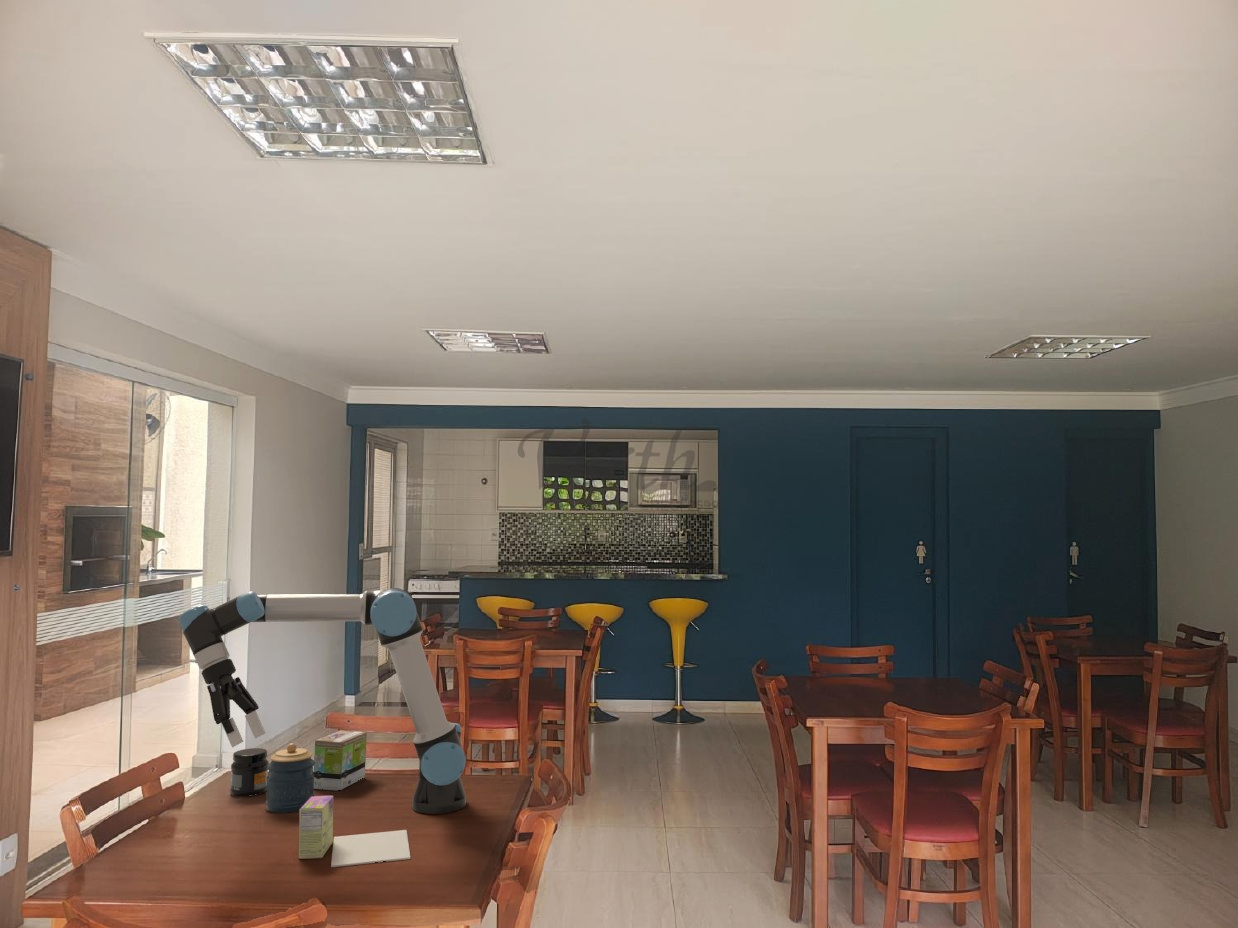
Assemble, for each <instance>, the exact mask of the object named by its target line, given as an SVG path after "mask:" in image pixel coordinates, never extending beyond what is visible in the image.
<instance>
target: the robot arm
mask: <svg viewBox="0 0 1238 928" xmlns="http://www.w3.org/2000/svg"><path fill="white" fill-rule="evenodd" d="M178 621H179V624H180V627H181V630H182V635H184V638H185V639H186V641H187V644H188V646H189V648H190V650H191V653H192V655H193V657H194V659H195V660H194V664H197V666H198V668H199V670H201V675H202V677H203V680H204V682H205V684H206V688H207V690H208V694H209V698H210V703H211V709H212V714H213V715H212V716H213V720H214V722H215V724H216V725H220V724H221V726H222V728H223V730H224V733H225V735H226V737H227V739H228V741H229V744H230V746H231V747H232V748H234V747H236V746H238V745H239V744H242V743H243V742H244V739H243V737H242V735H241V732H240V730H239V728H238V726H237V724H236V722H235V719H234V717H231V701H233V702H234V703H235V705H236V706H238V707H239V708H240V710H242V711H243V712H244V714H245V715H244V717H245V719H246V721H247V725H248V726H249V728H250V731H251V733H252V735H253V738H254V739H257V738H259V737H261V736H263V735H265V734H266V730H265V729H264V726H263V724H262V722H261V720H260V718H259V716H258V713H257V710H259V705H258V703H257V702H256V700H254V697H252V695H251V694H250V693H249V691H248V690H247V688H246V686H245V685H244V684H243V682H242V680H241V678H240V676H237V677H236V678H233V676H232V675H233V674H234V673H235V672H236V671H237V669H236V666H235V663H234V662H233V660H232V659H231V658H230V656H231V655H230V652H229V651H228V648H227V646H226V644H225V642H224V639H223V638H222V637H223V636H225V635H227V634H229V633H231V632H233V631H235V630H237V629H239V628H242V627H245V626H247V625H248V624H251V623H267V622H268V623H271V622H272V623H273V622H274V623H277V622H280V623H281V622H285V623H286V622H287V623H289V622H290V623H291V622H293V623H294V622H295V623H296V622H301V623H302V622H303V623H304V622H309V623H311V622H360V623H362V624H363V625H364V626H366V625H367V626H368V625H371V626H374V628H375V631H376V634H377V636H378V640H379V643H380V646H381V647H382V648H384V649H387V650H388V651H389V653H390V657H391V660H392V664H393V667H394V670H395V673H396V675H397V679H398V682H399V685H400V687H401V690H402V693H403V697H404V699H405V702H406V705H407V708H408V710H409V714H410V715H409V716H410V717H411V721H412V724H413V726H414V728H415V729H414V730H415V732H416V733H415V736H414V738H413V740H412V741H413V744H414V748H415V751H416V755H417V757H418V760H419V763H418V764H419V766H418V768H419V769H418V772H419V773H418V781H417V784H416V788H415V790H414V794H413V797H412V803H411V804H412V805H411V807H412V808H411V809H412V810H413V811H415V812H417V813H421V814H425V815H426V814H427V815H428V814H430V815H434V814H435V815H440V814H446V813H447V814H448V813H453V812H456V811H460V810H462V809H463V808H464V807H466V805H467V795H466V792H465V788H464V784H463V781H462V778H461V776H462V774H463V773H464V770H465V767H466V763H467V758H466V757H467V756H466V753H465V751H464V749H463V746H462V732H463V731H462V727H461V724H460V723H456V722H450V721H448V719H447V716H446V714H445V710H444V708H443V704H442V702H441V698H440V695H439V691H438V690H437V686H436V683H435V681H434V677H433V674H432V671H431V668H430V665H429V662H428V659H427V656H426V653H425V650H424V647H423V644H422V641H421V635H422V634H423V632H424V628H423V627H422V623H421V620H420V617H419V614H418V610H417V606H416V603H415V601H414V599H413V597H412V595H411V594H410V593H409V592H407V590H404V589H401V588H398V587H390V588H385V589H378V590H377V589H376V590H364V592H362V593H361V594H357V593H356V594H354V593H353V594H350V593H347V594H344V593H343V594H339V593H337V594H336V593H335V594H332V593H331V594H329V593H328V594H327V593H326V594H324V593H323V594H318V593H317V594H315V593H314V594H313V593H312V594H311V593H310V594H305V593H304V594H302V593H301V594H294V593H293V594H257V593H256V592H255V591H253V590H251V591H247V592H245V593H242V594H240V595H238V596H236V597H234V598H232V599H230V600H228V601H226V602H224V603H222V604H220V605H218V606H216V607H213V608H209V607H208V605H206V604H201V605H197V606H195V607H192V608H190V609H187V610H186V611H184V612H183V613H182V614H180V616H179V618H178Z"/></svg>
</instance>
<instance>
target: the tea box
mask: <svg viewBox="0 0 1238 928" xmlns="http://www.w3.org/2000/svg"><path fill="white" fill-rule="evenodd" d="M367 737H368V736H367V731H355V730H354V731H353V730H352V731H351V730H338V731H336V732H333V733H330V734H329V735H326V736H323V737H321V738H318V739H316V740H315V741H314V757H313V760H314V761H315V764H314V766H313V772H314V773H315V776H314V790H322V789H323V790H324V791H326V790H327V791H338V790H341V791H342V790H343V789H346V788H347V787H349V786H351V785H353V784H355V783H357V782H359V781H361V780H363V779H364V778H365V776H366V762H367V761H366V754H367ZM362 778H363V779H362ZM360 779H361V780H360ZM358 780H359V781H358Z"/></svg>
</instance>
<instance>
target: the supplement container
mask: <svg viewBox="0 0 1238 928" xmlns="http://www.w3.org/2000/svg"><path fill="white" fill-rule="evenodd" d="M267 758H268V750H267V749H266V748H262V747H260V748H259V747H256V748H255V747H253V748H251V747H250V748H244V749H240V750H236V751H234V752H233V754H232V760H233V762H232V763H231V765H230V789H229V792H230V795H232V796H234V797H238V796H248V797H250V796H249V795H255V794H258V795H261V794H263V793H265V792H267V777H268V774H269V770H268V769H267V765H268V764H269V763H270V761H269V760H268V759H267ZM260 793H261V794H260ZM255 796H256V795H255Z"/></svg>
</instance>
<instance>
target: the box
mask: <svg viewBox="0 0 1238 928" xmlns="http://www.w3.org/2000/svg"><path fill="white" fill-rule="evenodd" d="M298 812H299V814H298V815H299V819H298V821H299V824H298V825H299V827H298V828H299V834H298V837H299V838H298V860H299V859H300V860H306V859H307V860H309V859H312V860H313V859H323V857H324V856H325V854H326V853H327V851H328V850H329V849H330V847H331V846H333V842H334V836H333V834H334V795H314V796H312V797H311V798H310V799H309V800H308V801H307V802H306V803H305V804H304V805H303V806H302V807H301V808H300V810H299V811H298Z"/></svg>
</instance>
